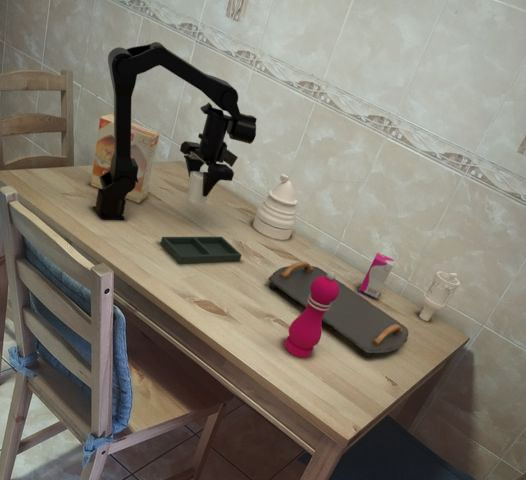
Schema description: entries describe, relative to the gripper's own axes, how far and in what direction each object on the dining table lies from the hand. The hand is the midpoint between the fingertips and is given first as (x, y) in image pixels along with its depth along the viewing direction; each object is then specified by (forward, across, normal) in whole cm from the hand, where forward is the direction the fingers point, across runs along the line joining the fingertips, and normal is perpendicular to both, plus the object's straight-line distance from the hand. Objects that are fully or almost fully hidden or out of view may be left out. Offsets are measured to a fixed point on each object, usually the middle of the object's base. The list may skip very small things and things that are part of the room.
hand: (198, 190), depth 141 cm
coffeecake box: (+11, +21, +12) cm, 27 cm away
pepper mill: (+11, -57, +5) cm, 58 cm away
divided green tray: (+11, -15, +5) cm, 19 cm away
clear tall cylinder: (+11, -54, -50) cm, 75 cm away
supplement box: (+11, -39, -40) cm, 57 cm away
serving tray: (+11, -46, -18) cm, 51 cm away
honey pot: (+11, -2, -31) cm, 33 cm away
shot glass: (+3, 0, 0) cm, 3 cm away
